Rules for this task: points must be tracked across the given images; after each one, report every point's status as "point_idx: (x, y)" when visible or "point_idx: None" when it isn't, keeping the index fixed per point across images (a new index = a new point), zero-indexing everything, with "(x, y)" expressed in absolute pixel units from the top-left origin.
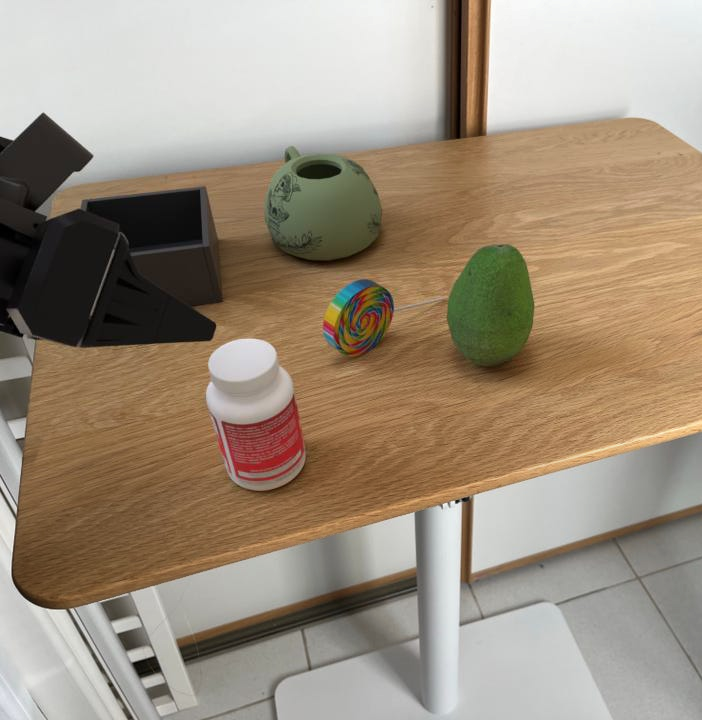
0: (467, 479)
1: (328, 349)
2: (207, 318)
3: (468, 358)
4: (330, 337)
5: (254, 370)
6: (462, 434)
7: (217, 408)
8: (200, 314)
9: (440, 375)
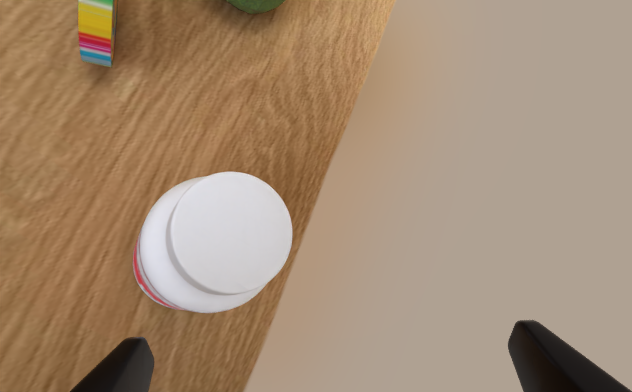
0: (337, 141)
1: (59, 61)
2: (558, 339)
3: (251, 10)
4: (101, 55)
5: (277, 233)
6: (298, 100)
7: (229, 306)
8: (586, 358)
9: (221, 39)
